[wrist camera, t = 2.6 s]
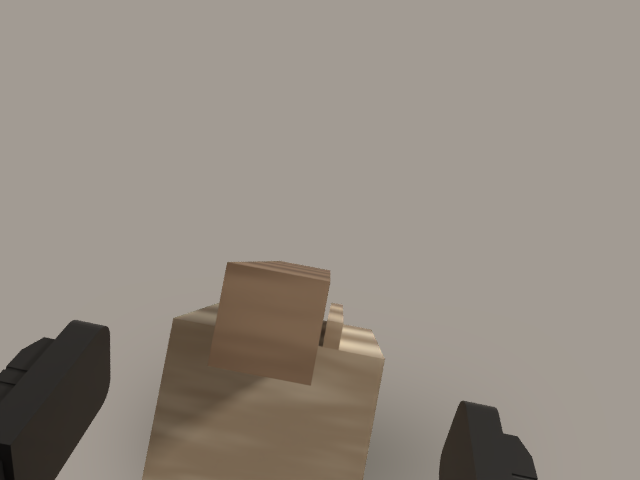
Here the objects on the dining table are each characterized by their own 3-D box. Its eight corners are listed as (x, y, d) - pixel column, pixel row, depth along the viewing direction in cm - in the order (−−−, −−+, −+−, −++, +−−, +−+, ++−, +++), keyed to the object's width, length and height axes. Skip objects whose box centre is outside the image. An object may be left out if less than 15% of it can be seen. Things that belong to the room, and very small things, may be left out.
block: (271, 310, 46) (280, 261, 46) (320, 320, 46) (330, 270, 46) (207, 365, 22) (227, 262, 22) (311, 385, 22) (330, 281, 22)
